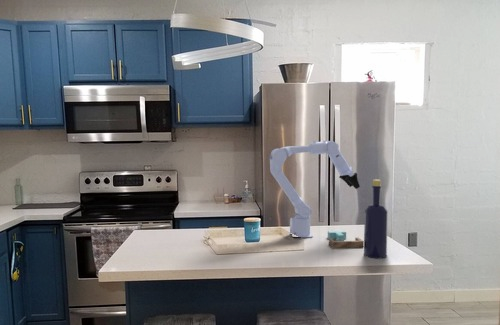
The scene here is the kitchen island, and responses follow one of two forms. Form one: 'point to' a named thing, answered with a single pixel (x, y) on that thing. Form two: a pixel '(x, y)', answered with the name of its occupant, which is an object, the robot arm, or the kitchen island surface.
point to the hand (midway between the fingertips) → (354, 186)
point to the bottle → (375, 226)
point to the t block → (337, 235)
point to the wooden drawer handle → (346, 243)
